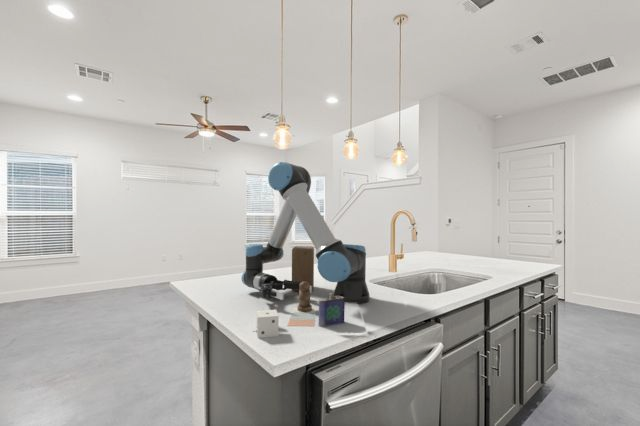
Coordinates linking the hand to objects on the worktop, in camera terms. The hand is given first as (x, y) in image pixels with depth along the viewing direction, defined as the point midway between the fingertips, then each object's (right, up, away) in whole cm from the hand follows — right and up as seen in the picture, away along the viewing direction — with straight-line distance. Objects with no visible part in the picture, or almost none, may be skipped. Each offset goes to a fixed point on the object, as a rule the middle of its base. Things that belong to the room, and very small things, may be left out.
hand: (297, 292), depth 112 cm
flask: (+12, -7, -16) cm, 21 cm away
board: (+3, -6, -9) cm, 11 cm away
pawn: (+3, -5, -2) cm, 7 cm away
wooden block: (0, -7, +31) cm, 32 cm away
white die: (-7, -6, -22) cm, 24 cm away
